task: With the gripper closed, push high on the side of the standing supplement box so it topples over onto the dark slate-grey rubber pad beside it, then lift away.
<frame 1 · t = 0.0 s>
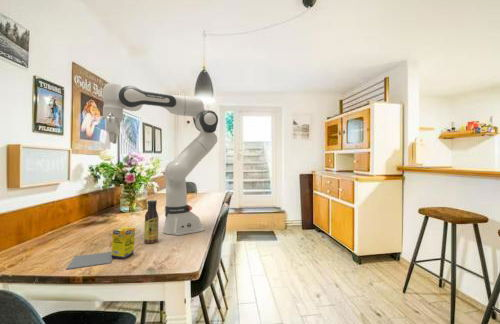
hand: (113, 143, 121), 48 cm above the table, fingers open, 8 cm apart
supplement box: (122, 256, 98), on the table, touching slate pad
sauce bottle: (151, 242, 115), on the table
slate pad: (92, 260, 94), on the table
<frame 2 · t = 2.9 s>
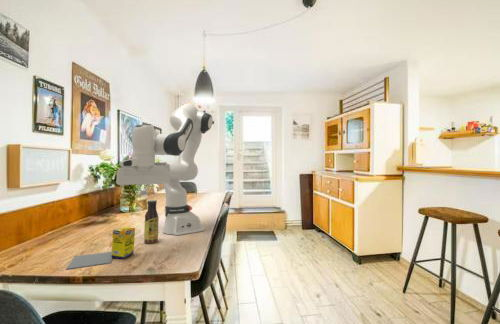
hand: (143, 194, 101), 25 cm above the table, fingers closed
nothing on the table moved.
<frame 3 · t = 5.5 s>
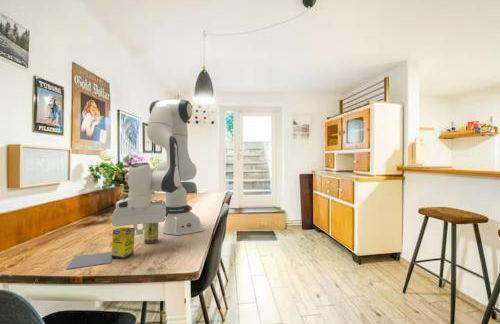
hand: (139, 234, 100), 8 cm above the table, fingers closed
supplement box: (122, 256, 98), on the table, touching gripper, slate pad
everything else where it was.
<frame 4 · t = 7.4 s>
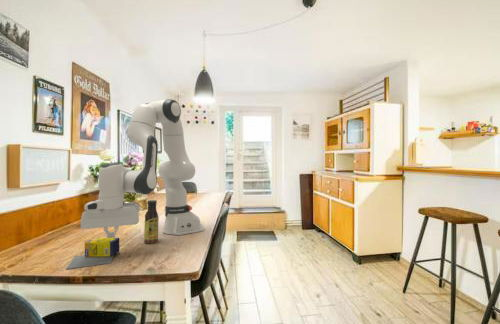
hand: (111, 237, 96), 8 cm above the table, fingers closed
supplement box: (116, 246, 99), point 3 cm above the table, touching slate pad
everything else where it was.
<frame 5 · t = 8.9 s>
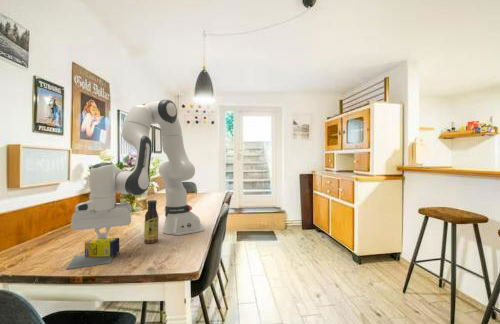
hand: (102, 238, 95), 8 cm above the table, fingers closed
nothing on the table moved.
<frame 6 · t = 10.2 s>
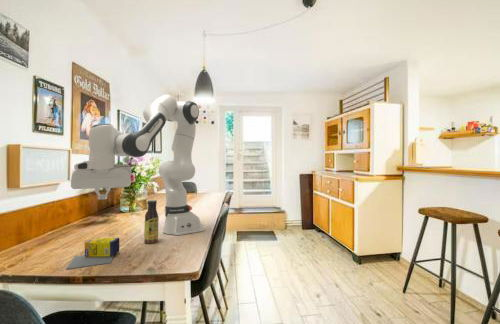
hand: (102, 199, 95), 24 cm above the table, fingers closed
nothing on the table moved.
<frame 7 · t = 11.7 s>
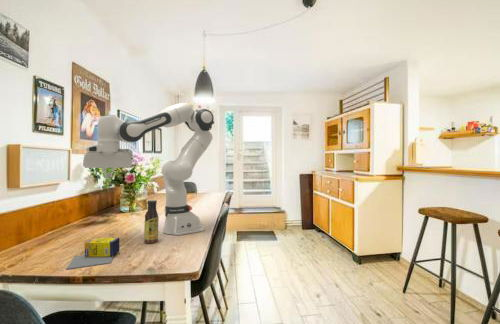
hand: (108, 177, 116), 31 cm above the table, fingers closed
nothing on the table moved.
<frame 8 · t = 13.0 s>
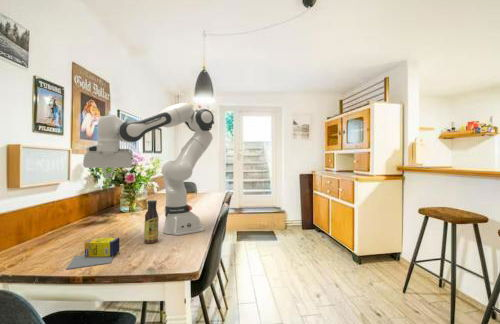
hand: (108, 177, 116), 31 cm above the table, fingers closed
nothing on the table moved.
at the end: supplement box tilted 90°; supplement box touching slate pad; supplement box inside the target area (3.8 cm from its centre), point 3.4 cm above the table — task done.
